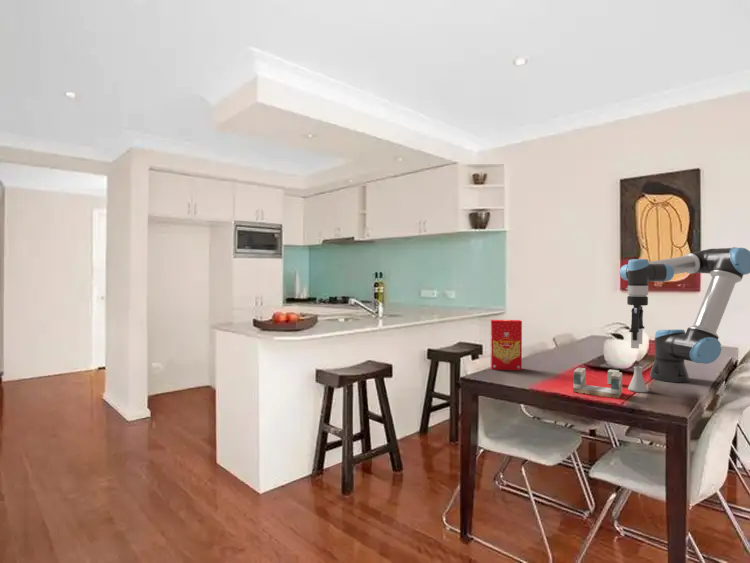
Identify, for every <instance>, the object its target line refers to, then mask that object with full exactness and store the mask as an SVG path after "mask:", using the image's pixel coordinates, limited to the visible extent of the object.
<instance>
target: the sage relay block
mask: <svg viewBox="0 0 750 563" xmlns="http://www.w3.org/2000/svg"><path fill="white" fill-rule="evenodd" d="M613 372H620V370H618V369H608V370H607V383H606V384H611V375H612V374H613Z"/></svg>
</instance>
